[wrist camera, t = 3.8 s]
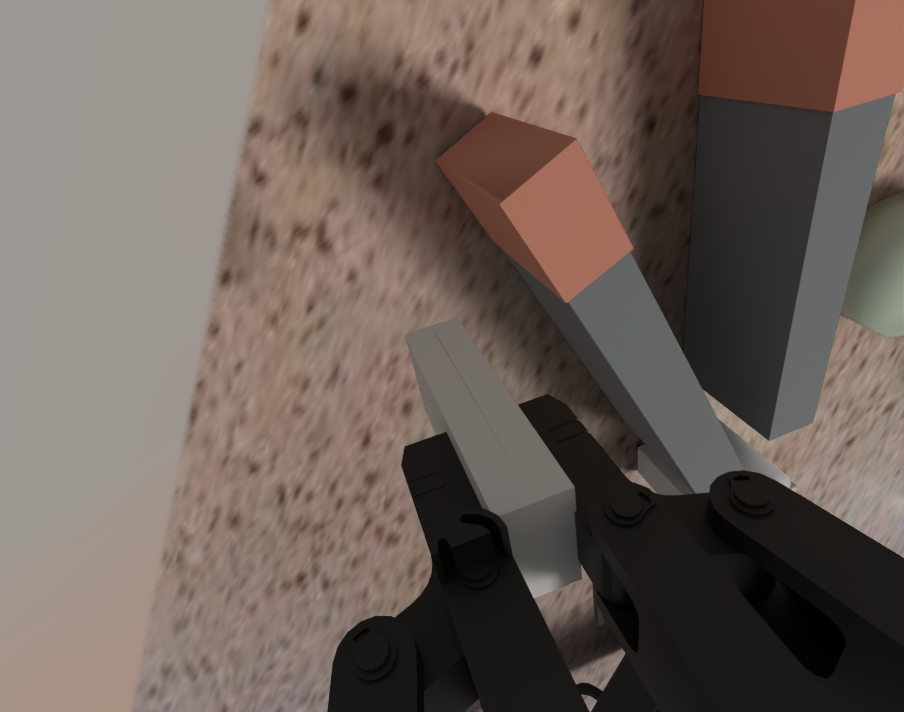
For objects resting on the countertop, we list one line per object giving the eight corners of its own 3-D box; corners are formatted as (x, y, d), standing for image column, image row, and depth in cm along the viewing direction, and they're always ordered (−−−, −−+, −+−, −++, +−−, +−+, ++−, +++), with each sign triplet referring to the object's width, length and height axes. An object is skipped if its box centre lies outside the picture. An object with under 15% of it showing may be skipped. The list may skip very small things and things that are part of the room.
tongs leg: (663, 396, 29) (748, 470, 24) (625, 426, 29) (701, 505, 24) (491, 112, 19) (576, 138, 14) (434, 161, 19) (499, 204, 14)
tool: (476, 734, 36) (705, 943, 26) (615, 524, 46) (820, 621, 36) (496, 766, 40) (704, 962, 30) (621, 565, 49) (809, 663, 40)
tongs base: (711, 441, 33) (801, 519, 28) (637, 470, 32) (715, 558, 27) (766, -41, 20) (962, -71, 14) (642, -11, 19) (799, -30, 13)
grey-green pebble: (809, 329, 31) (857, 353, 29) (835, 212, 27) (893, 229, 25) (905, 292, 32) (960, 313, 30) (943, 175, 28) (1009, 189, 26)
